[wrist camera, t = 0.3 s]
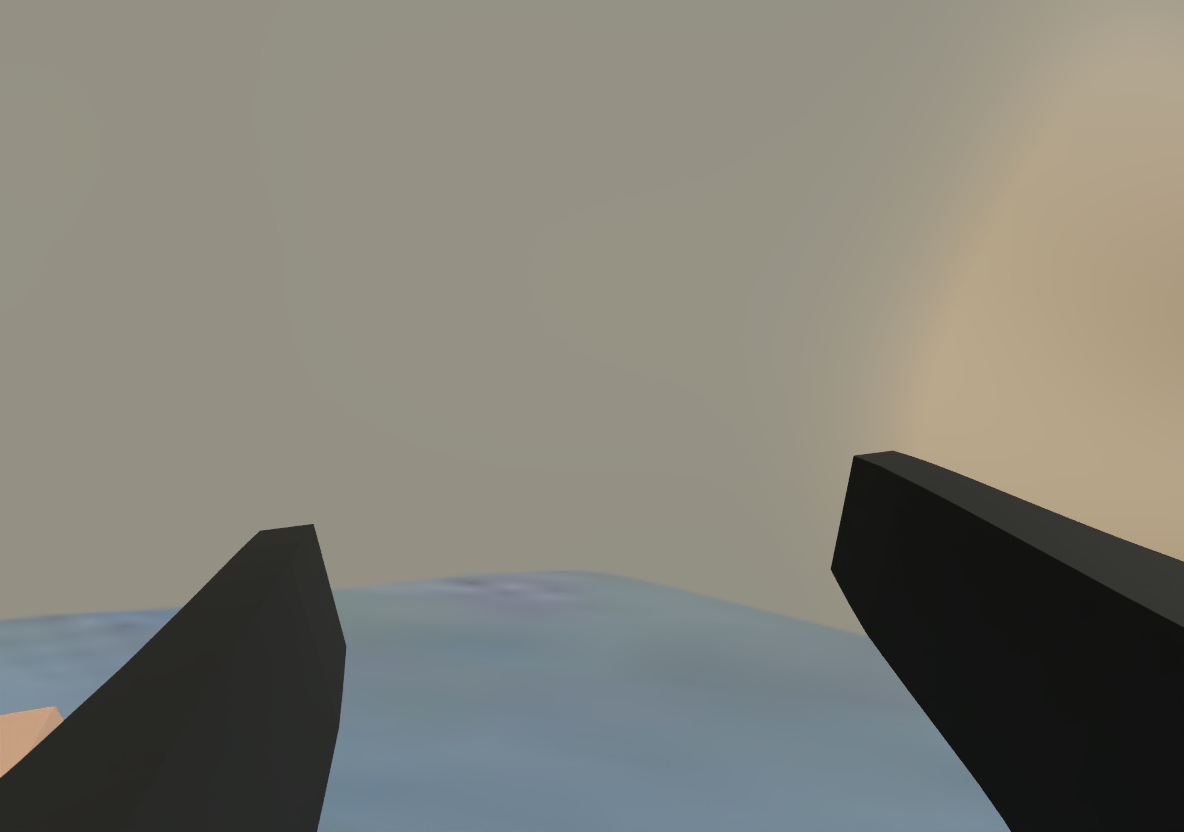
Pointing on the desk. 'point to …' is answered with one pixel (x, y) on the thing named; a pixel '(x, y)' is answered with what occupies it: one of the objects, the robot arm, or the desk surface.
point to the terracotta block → (24, 733)
